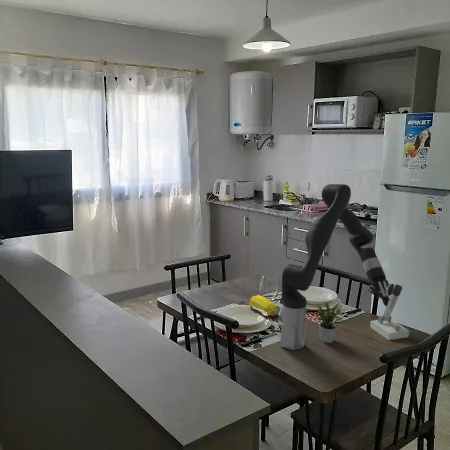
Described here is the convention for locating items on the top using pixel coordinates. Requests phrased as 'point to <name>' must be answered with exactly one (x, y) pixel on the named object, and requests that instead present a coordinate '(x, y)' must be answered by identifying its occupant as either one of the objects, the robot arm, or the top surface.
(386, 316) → the press lever
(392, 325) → the press base
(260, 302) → the yellow curved elongated piece
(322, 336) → the house plant
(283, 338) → the robot arm
